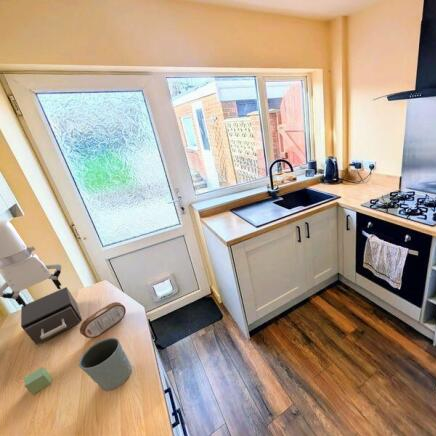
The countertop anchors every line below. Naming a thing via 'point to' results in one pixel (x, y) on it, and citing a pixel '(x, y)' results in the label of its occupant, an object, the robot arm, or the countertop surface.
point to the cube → (37, 380)
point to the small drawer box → (48, 307)
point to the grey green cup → (106, 364)
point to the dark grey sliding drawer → (52, 325)
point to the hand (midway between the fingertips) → (42, 296)
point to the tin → (102, 320)
